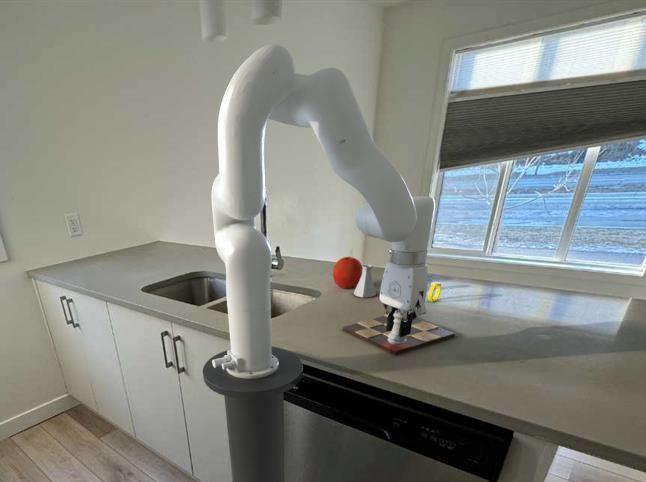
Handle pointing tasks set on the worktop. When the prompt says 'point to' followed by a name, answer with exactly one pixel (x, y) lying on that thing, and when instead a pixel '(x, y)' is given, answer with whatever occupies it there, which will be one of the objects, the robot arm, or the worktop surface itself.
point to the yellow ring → (431, 290)
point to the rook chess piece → (397, 330)
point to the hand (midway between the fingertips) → (397, 332)
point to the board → (378, 335)
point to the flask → (365, 283)
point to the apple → (347, 272)
